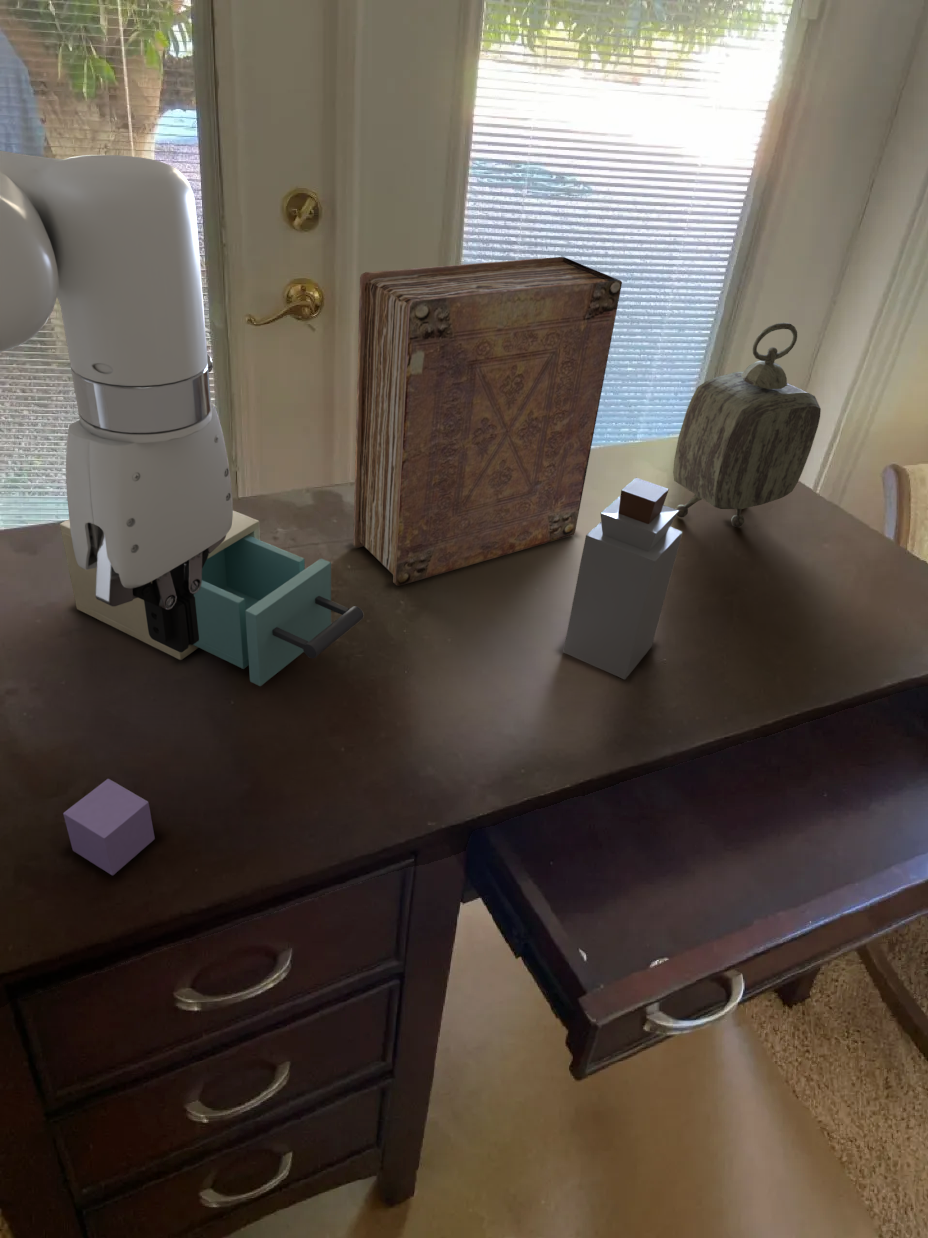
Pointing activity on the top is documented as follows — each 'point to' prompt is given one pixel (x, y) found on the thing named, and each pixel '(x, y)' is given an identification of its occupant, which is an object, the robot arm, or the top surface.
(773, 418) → the tabletop clock
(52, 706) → the top surface
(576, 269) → the book
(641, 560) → the perfume bottle
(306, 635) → the teal drawer
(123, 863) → the lavender cube
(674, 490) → the top surface
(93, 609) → the drawer cabinet
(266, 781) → the top surface
